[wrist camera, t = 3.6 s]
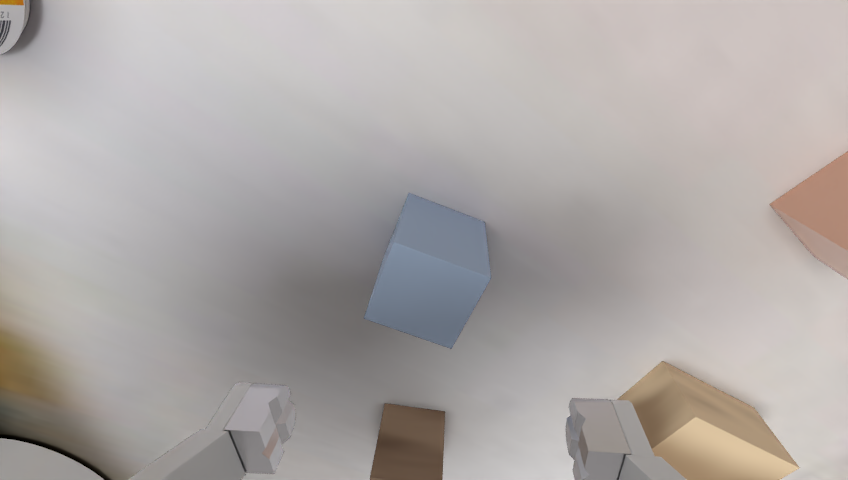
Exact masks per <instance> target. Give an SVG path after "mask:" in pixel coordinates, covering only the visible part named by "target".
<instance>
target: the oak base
mask: <svg viewBox="0 0 848 480" xmlns="http://www.w3.org/2000/svg"><path fill="white" fill-rule="evenodd" d="M617 400H629V401H630V402H631V403H632V404H633V407H634V409H635V411H636V414H637V416H638V418H639V421H640V423H641V425H642V428H643V430H644V432H645V435H646V437H647V439H648V442H649V444H650V446H651V449H652V451H653V453H654V456H658V457H662V458H663V459H664V460H665V461H666V462H667V463H668V464H670V465H671V466H672V467H673V468H674V469H675V470H676V471H677V472H679V473H680V474H681V475H682V476H683V477H684V478H685V479H686V480H780V479H782V478H783V477H785V476H787V475H789V474H790V473H792V472H794V471H795V470H797V469H799V466H798V465H797V464H796V462H795V461H794V460H793V459H792V457H791V456H790V455H789V453H788V452H787V451H786V449H785V448H784V447H783V445H782V444H781V443H780V441H779V440H778V439H777V437H776V436H775V435H774V433H773V432H772V431H771V430H770V428H769V427H768V426H767V424H766V423H765V422H764V420H763V419H762V418H761V416H760V415H759V414H758V412H757V411H756V410H755V408H753V407H751V406H749V405H747V404H746V403H744V402H742V401H740V400H738V399H736V398H734V397H732V396H730V395H728V394H726V393H724V392H722V391H720V390H718V389H716V388H714V387H712V386H710V385H708V384H706V383H705V382H703V381H701V380H699V379H697V378H695V377H693V376H691V375H689V374H687V373H685V372H683V371H681V370H679V369H677V368H675V367H673V366H671V365H669V364H667V363H665V362H663V361H662V362H661V363H660V364H659V365H657V366H656V367H655V368H654V369H653V370H651V371H650V372H649V373H648V374H647V375H646V376H644V377H643V378H642V379H641V380H640V381H639V382H637V383H636V384H635V385H634V386H633V387H631V388H630V389H629V390H628V391H627V392H626V393H624V394H623V395H622V396H621V397H620V398H619V399H617Z"/></svg>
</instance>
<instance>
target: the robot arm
mask: <svg viewBox="0 0 848 480" xmlns="http://www.w3.org/2000/svg"><path fill="white" fill-rule="evenodd" d="M290 395H291V392H290V389H289V386H285V385H273V384H259V383H242V382H238V383H237V384H235V385H234V386H233V387H232V389H231V390H230V392H229V393H228V395H227V396H226V398H225V399H224V401H223V403H222V404H221V406H220V407H219V409H218V410H217V412H216V413H215V415H214V416H213V418H212V420H211V421H210V423H209V424H208V426H207V427H206V429H200V430H199V431H197V432H196V433H194V434H193V435H191V436H190V437H188V438H187V439H186V440H184V441H183V442H181V443H180V444H178V445H177V446H175V447H174V448H173V449H171V450H170V451H168V452H167V453H165V454H164V455H162V456H161V457H160V458H158V459H157V460H155V461H154V462H152V463H151V464H149V465H148V466H147V467H145V468H144V469H142V470H141V471H139V472H138V473H136V474H135V475H134V476H132V477H131V478H129V479H128V480H241V479H242V478H243V477H244V476H245V475H246V473H265V474H275V472H276V469H277V467H278V465H279V462H280V460H281V458H282V455H283V453H284V450H283V446H282V444H283V443H284V442H285V441H287V440H288V439H289V438H290V437H291V434H292V432H293V429H294V425H295V420H296V410H295V406H294V404H293V403H292V402H291V401H290V400H288V399H289V397H290ZM569 410H570V414H571V415H570V416H569V417H568V418H567V421H566V442H567V448H568V452H569V455H570V456H571V457H572V458H573V459H574V460H575V461H574V466H573V474H574V478H575V480H686V479H685V478H684V477H683V476H682V475H681V474H680V473H679V472H677V471H676V470H675V469H674V468H673V467H672V466H671V465H670V464H668V463H667V462H666V461H665V460H664V459H663V458H662V457H658V456H654V453H653V451H652V449H651V446H650V444H649V442H648V439H647V437H646V435H645V432H644V430H643V428H642V425H641V423H640V421H639V418H638V416H637V414H636V411H635V409H634V407H633V404H632V403H631V402H630V401H629V400H608V399H585V398H572V399H571V400H570V404H569ZM0 480H104V479H103V478H101V477H100V476H99V475H97V474H96V473H95V472H93V471H92V470H90V469H88V468H87V467H85V466H83V465H82V464H80V463H78V462H76V461H74V460H72V459H70V458H68V457H66V456H64V455H62V454H59V453H57V452H55V451H52V450H49V449H46V448H44V447H41V446H37V445H34V444H30V443H26V442H22V441H17V440H11V439H4V438H0Z"/></svg>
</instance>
